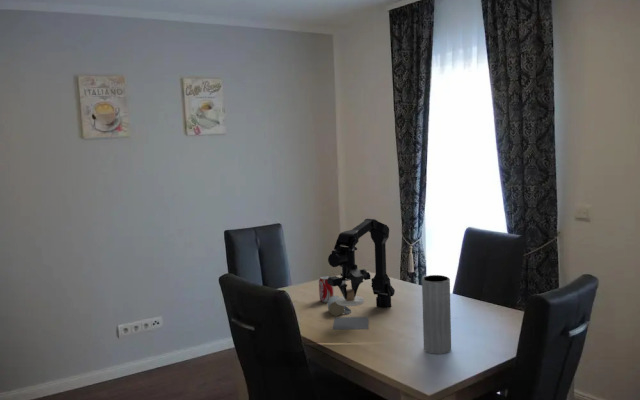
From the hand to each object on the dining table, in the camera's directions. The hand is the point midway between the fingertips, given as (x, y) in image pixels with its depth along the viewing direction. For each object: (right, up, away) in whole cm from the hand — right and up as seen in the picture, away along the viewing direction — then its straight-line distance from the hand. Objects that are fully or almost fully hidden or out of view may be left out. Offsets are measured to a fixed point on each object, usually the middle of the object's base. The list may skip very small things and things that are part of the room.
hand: (349, 297), depth 228 cm
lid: (0, -2, 0) cm, 2 cm away
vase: (+31, -14, -29) cm, 45 cm away
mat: (+1, -12, +1) cm, 12 cm away
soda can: (-9, -8, +37) cm, 39 cm away
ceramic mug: (-4, -11, +16) cm, 20 cm away
